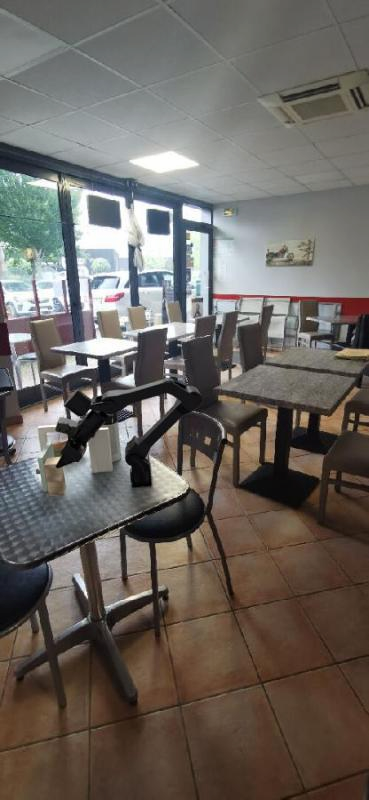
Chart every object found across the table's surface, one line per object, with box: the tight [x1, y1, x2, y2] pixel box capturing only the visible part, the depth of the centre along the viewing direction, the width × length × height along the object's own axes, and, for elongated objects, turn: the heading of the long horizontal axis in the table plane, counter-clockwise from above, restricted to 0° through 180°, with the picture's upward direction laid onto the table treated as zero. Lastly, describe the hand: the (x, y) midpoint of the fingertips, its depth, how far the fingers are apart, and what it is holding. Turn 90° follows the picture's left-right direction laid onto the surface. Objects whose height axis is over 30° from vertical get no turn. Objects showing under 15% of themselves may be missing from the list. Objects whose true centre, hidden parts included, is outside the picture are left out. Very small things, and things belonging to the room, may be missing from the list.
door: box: [35, 441, 54, 492], centre depth 132 cm, size 12×3×12 cm, turn 3°
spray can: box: [101, 412, 122, 463], centre depth 146 cm, size 7×7×20 cm
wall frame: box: [37, 424, 114, 474], centre depth 137 cm, size 23×2×18 cm, turn 93°
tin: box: [52, 438, 88, 457], centre depth 148 cm, size 15×3×8 cm, turn 132°
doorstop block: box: [44, 457, 67, 497], centre depth 127 cm, size 4×5×11 cm
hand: (59, 460), depth 126 cm, fingers open, 9 cm apart
